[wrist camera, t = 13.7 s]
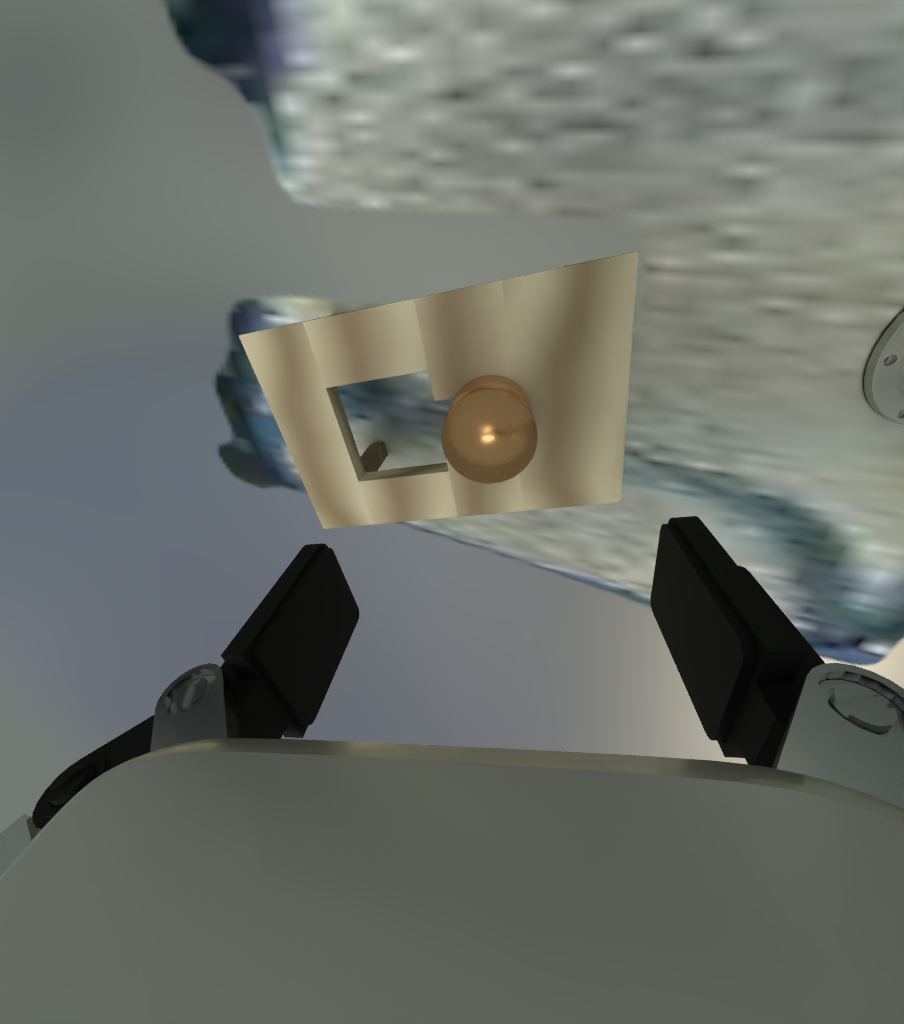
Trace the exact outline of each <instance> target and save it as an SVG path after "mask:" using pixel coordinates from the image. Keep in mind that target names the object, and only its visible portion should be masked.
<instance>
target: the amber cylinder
mask: <svg viewBox="0 0 904 1024" xmlns="http://www.w3.org/2000/svg"><path fill="white" fill-rule="evenodd" d="M537 442H538V434H537V428H536V423H535V419H534V415H533V411H532V407H531V403H530V400H529V398H528V396H527V394H526V392H525V391H524V390H523V388H522V387H521V386H520V385H519V384H517V383H516V382H515V381H513V380H511V379H509V378H507V377H504V376H500V375H484V376H480V377H477V378H475V379H473V380H471V381H469V382H468V383H466V384H465V385H464V386H463V387H462V388H461V389H460V390H459V392H458V393H457V395H456V396H455V398H454V400H453V403H452V405H451V408H450V410H449V413H448V415H447V418H446V421H445V423H444V426H443V430H442V447H443V451H444V454H445V456H446V458H447V460H448V462H449V463H450V465H451V466H452V467H453V468H454V469H455V470H456V471H457V472H458V473H459V474H461V475H462V476H464V477H465V478H467V479H470V480H472V481H475V482H479V483H488V484H490V483H499V482H503V481H506V480H509V479H511V478H513V477H515V476H517V475H518V474H519V473H521V472H522V471H523V470H524V469H525V468H526V467H527V466H528V464H529V463H530V461H531V460H532V458H533V456H534V454H535V451H536V448H537Z"/></svg>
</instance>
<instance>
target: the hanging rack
mask: <svg viewBox="0 0 904 1024" xmlns="http://www.w3.org/2000/svg"><path fill="white" fill-rule="evenodd" d="M638 255H639V251H638V252H633V253H628V254H623V255H618V256H613V257H608V258H603V259H598V260H593V261H588V262H583V263H579V264H574V265H569V266H564V267H562V268H557V269H552V270H548V271H542V272H538V273H533V274H529V275H523V276H519V277H514V278H509V279H505V280H500V281H495V282H490V283H486V284H481V285H477V286H471V287H467V288H462V289H457V290H452V291H448V292H443V293H438V294H433V295H429V296H424V297H419V298H414V299H410V300H405V301H400V302H395V303H391V304H386V305H381V306H376V307H372V308H367V309H362V310H357V311H353V312H348V313H342V314H337V315H332V316H327V317H323V318H318V319H313V320H309V321H304V322H300V323H295V324H290V325H286V326H281V327H276V328H272V329H267V330H262V331H258V332H253V333H248V334H244V335H239V338H240V340H241V342H242V344H243V347H244V349H245V351H246V354H247V356H248V358H249V360H250V363H251V365H252V367H253V369H254V372H255V374H256V376H257V379H258V381H259V383H260V385H261V388H262V390H263V392H264V394H265V397H266V399H267V401H268V404H269V406H270V408H271V410H272V413H273V415H274V417H275V419H276V422H277V424H278V426H279V429H280V431H281V433H282V435H283V438H284V440H285V442H286V444H287V447H288V449H289V451H290V454H291V456H292V458H293V460H294V463H295V465H296V467H297V469H298V472H299V474H300V476H301V479H302V481H303V483H304V485H305V488H306V490H307V492H308V494H309V497H310V499H311V501H312V504H313V506H314V508H315V510H316V513H317V515H318V517H319V520H320V522H321V524H322V526H323V528H324V529H327V528H338V527H349V526H360V525H372V524H383V523H394V522H405V521H416V520H427V519H438V518H449V517H460V516H472V515H483V514H494V513H505V512H516V511H527V510H538V509H549V508H560V507H571V506H582V505H594V504H605V503H616V502H621V492H622V478H623V464H624V451H625V437H626V423H627V409H628V395H629V381H630V367H631V353H632V339H633V325H634V311H635V297H636V283H637V269H638ZM423 371H428V372H429V377H430V382H431V387H432V392H433V397H434V401H439V400H445V399H452V398H455V396H456V395H457V393H458V392H459V390H460V389H461V388H462V387H463V386H464V385H465V384H466V383H468V382H469V381H471V380H473V379H475V378H477V377H480V376H484V375H500V376H504V377H507V378H509V379H511V380H513V381H515V382H516V383H517V384H519V385H520V386H521V387H522V388H523V390H524V391H525V392H526V394H527V396H528V398H529V400H530V403H531V407H532V411H533V415H534V419H535V423H536V428H537V434H538V442H537V448H536V451H535V454H534V456H533V458H532V460H531V461H530V463H529V464H528V466H527V467H526V468H525V469H524V470H523V471H522V472H521V473H519V474H518V475H517V476H515V477H513V478H511V479H509V480H506V481H503V482H499V483H490V484H488V483H479V482H475V481H472V480H470V479H467V478H465V477H464V476H462V475H461V474H459V473H458V472H457V471H456V470H455V469H454V468H453V467H452V466H451V465H450V463H449V462H448V460H447V458H446V461H447V463H440V464H432V465H423V466H415V467H406V468H398V469H390V470H381V471H378V469H379V468H380V466H381V464H382V463H383V461H384V460H385V458H386V457H387V455H388V454H387V451H386V447H385V444H384V442H381V443H373V444H370V446H369V447H368V448H367V450H366V451H365V452H364V453H363V455H362V456H361V457H360V456H359V453H358V450H357V447H356V444H355V441H354V438H353V435H352V432H351V429H350V426H349V423H348V420H347V417H346V414H345V411H344V408H343V405H342V402H341V399H340V396H339V393H338V390H337V387H336V386H341V385H347V384H353V383H358V382H364V381H370V380H376V379H382V378H388V377H394V376H400V375H405V374H411V373H417V372H423Z"/></svg>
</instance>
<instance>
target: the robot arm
mask: <svg viewBox="0 0 904 1024" xmlns="http://www.w3.org/2000/svg"><path fill="white" fill-rule="evenodd" d="M864 391H865V394H866V398H867V401H868V403H869V404H870V406H871V407H872V408H873V410H874V411H875V412H877V413H878V414H879V415H881V416H882V417H884V418H886V419H889V420H891V421H894V422H896V423H900V424H904V311H903V312H902V313H901V314H900V315H899V316H898V317H897V318H896V319H895V321H894V322H893V323H892V324H891V325H890V327H889V328H888V329H887V330H886V331H885V333H884V334H883V336H882V337H881V339H880V341H879V342H878V344H877V345H876V347H875V348H874V351H873V353H872V355H871V357H870V360H869V362H868V365H867V369H866V373H865V378H864ZM651 608H652V611H653V614H654V616H655V618H656V621H657V623H658V625H659V628H660V630H661V632H662V634H663V637H664V639H665V641H666V643H667V646H668V648H669V650H670V653H671V655H672V657H673V659H674V662H675V664H676V666H677V669H678V671H679V673H680V675H681V678H682V680H683V682H684V685H685V687H686V689H687V691H688V694H689V696H690V698H691V700H692V703H693V705H694V707H695V710H696V712H697V714H698V716H699V719H700V721H701V723H702V725H703V728H704V730H705V732H706V734H707V736H708V737H709V739H711V740H717V741H718V743H719V745H720V747H721V750H722V752H723V754H724V756H725V757H737V758H738V757H739V758H745V759H746V761H747V763H748V765H747V764H737V763H729V762H719V761H709V760H695V759H679V758H665V757H651V756H636V755H620V754H619V755H618V754H600V753H598V754H597V753H581V752H580V753H579V752H561V751H542V750H522V749H502V748H481V747H480V748H479V747H459V746H438V745H416V744H393V743H370V742H346V741H345V742H344V741H321V740H320V741H319V740H296V739H295V740H294V739H281V737H282V735H284V737H295V738H303V736H304V734H305V732H306V729H307V727H308V725H311V724H312V723H313V722H314V720H315V718H316V716H317V714H318V712H319V709H320V707H321V704H322V702H323V700H324V698H325V695H326V693H327V691H328V688H329V686H330V684H331V682H332V679H333V677H334V675H335V672H336V670H337V668H338V665H339V663H340V661H341V658H342V656H343V654H344V651H345V649H346V647H347V645H348V642H349V640H350V638H351V636H352V633H353V631H354V629H355V626H356V624H357V622H358V619H359V609H358V606H357V604H356V602H355V599H354V597H353V595H352V592H351V590H350V588H349V586H348V584H347V581H346V579H345V577H344V574H343V572H342V570H341V567H340V565H339V563H338V561H337V558H336V556H335V554H334V552H333V550H332V549H331V548H328V547H327V545H325V544H310V545H305V546H304V547H303V548H302V549H301V550H300V552H299V553H298V554H297V556H296V557H295V558H294V560H293V561H292V562H291V564H290V565H289V566H288V568H287V569H286V570H285V572H284V573H283V574H282V575H281V577H280V578H279V580H278V581H277V582H276V583H275V585H274V586H273V588H272V589H271V590H270V591H269V593H268V594H267V595H266V597H265V598H264V599H263V601H262V602H261V603H260V604H259V606H258V607H257V609H256V610H255V611H254V612H253V614H252V615H251V616H250V618H249V619H248V620H247V622H246V623H245V624H244V626H243V627H242V628H241V630H240V631H239V632H238V633H237V635H236V636H235V637H234V639H233V640H232V641H231V643H230V644H229V645H228V647H227V648H226V649H225V651H224V652H223V654H222V655H221V656H222V658H223V659H224V661H225V662H224V663H223V665H222V666H221V667H219V666H218V665H216V664H210V663H208V664H203V665H199V666H197V667H195V668H192V669H190V670H189V671H187V672H185V673H184V674H182V675H181V676H179V677H178V678H177V679H176V680H174V681H173V682H172V683H171V684H170V685H169V686H168V687H167V689H165V691H164V692H163V693H162V695H161V696H160V698H159V700H158V702H157V705H156V708H155V715H153V716H151V717H150V718H148V719H147V720H145V721H143V722H142V723H140V724H138V725H136V726H135V727H133V728H132V729H130V730H128V731H127V732H125V733H123V734H122V735H120V736H118V737H117V738H115V739H113V740H112V741H110V742H108V743H107V744H105V745H103V746H102V747H100V748H98V749H97V750H95V751H93V752H92V753H90V754H88V755H87V756H85V757H83V758H82V759H80V760H79V761H77V762H76V763H74V764H73V765H71V766H70V767H69V768H67V769H66V770H65V771H64V772H63V773H61V774H60V775H59V776H58V777H57V778H56V779H55V780H54V781H53V783H52V784H51V785H50V786H49V787H48V788H47V789H46V790H45V792H44V793H43V795H42V796H41V798H40V799H39V801H38V802H37V805H36V807H35V809H34V811H33V816H32V817H30V816H28V815H26V814H24V815H23V816H21V817H20V818H19V819H18V820H16V821H15V822H14V823H13V824H11V825H10V826H9V827H8V828H6V829H5V830H4V831H3V832H1V833H0V1024H904V689H903V688H901V687H900V686H898V685H897V684H895V683H894V682H892V681H891V680H889V679H886V678H885V677H882V676H880V675H878V674H876V673H874V672H872V671H869V670H866V669H863V668H859V667H856V666H853V665H847V664H840V663H829V664H825V663H824V661H823V660H822V659H821V658H820V656H819V655H818V654H817V653H816V652H815V650H814V649H813V648H812V647H811V646H810V644H809V643H808V642H807V641H806V640H805V638H804V637H803V636H802V635H801V634H800V632H799V631H798V630H797V629H796V628H795V626H794V625H793V624H792V623H791V621H790V620H789V619H788V618H787V617H786V615H785V614H784V613H783V612H782V611H781V609H780V608H779V607H778V606H777V605H776V603H775V602H774V601H773V600H772V599H771V597H770V596H769V595H768V594H767V593H766V591H765V590H764V589H763V588H762V586H761V585H760V584H759V583H758V582H757V580H756V579H755V578H754V577H753V576H752V574H751V573H750V572H749V571H748V570H747V569H746V568H744V567H741V566H737V565H736V563H735V562H734V561H733V560H732V558H731V557H730V556H729V555H728V553H727V552H726V551H725V550H724V548H723V547H722V546H721V545H720V543H719V542H718V541H717V540H716V538H715V537H714V536H713V535H712V533H711V532H710V531H709V530H708V529H707V527H706V526H705V525H704V524H703V522H702V521H701V520H700V519H699V518H698V517H696V516H691V517H678V518H671V519H670V520H669V522H668V524H663V525H662V526H661V530H660V537H659V544H658V551H657V558H656V565H655V572H654V579H653V586H652V593H651Z"/></svg>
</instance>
